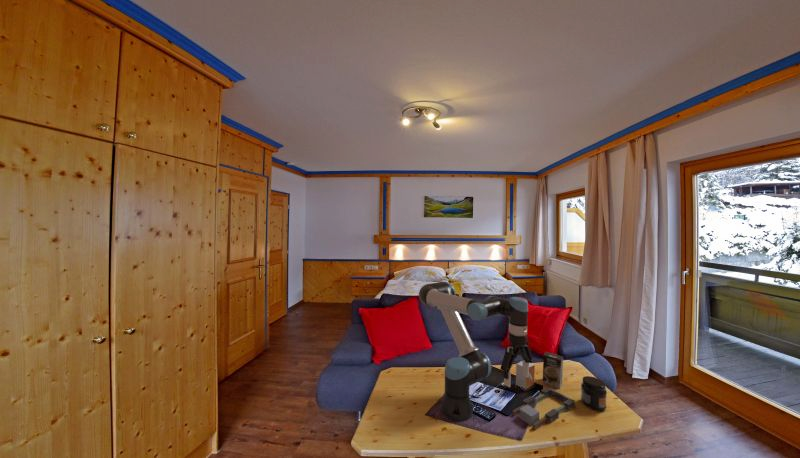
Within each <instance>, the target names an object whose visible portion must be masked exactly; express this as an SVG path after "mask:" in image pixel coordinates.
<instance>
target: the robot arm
mask: <svg viewBox="0 0 800 458" xmlns="http://www.w3.org/2000/svg"><path fill="white" fill-rule="evenodd" d="M456 293H457V292H456V289H455V286H454V285H453V284H452V283H450V282H448V281H438V282H432V283H426V284H424V285H422V286H421V288H420V289H419V291H418V298H419V301H420V302H421V303H422V304H423V305H425V306H427V307H432V308H435V307H436V308H437V310H440V311H441V313H442V317H443V318H444V321H445V322H446V325H447V327H448V329H449V332H450V334H451V335H452V338H453V340H454V343H455V344H456V347H457V350H458V352H459V355H458V357H456V356H454V357H451V358H449V359H447V360H446V362H445V366H444V393H443V395H442V399H441V401H440V402H441V403H440V411H441V413H442V414H443V416H445V417H446V418H448V419H450V420H453V421H459V422H460V421H461V422H463V421H467V420H469V419H471V417H472V416H473V413H474V410H473V409H474V408H473V404H472V401H471V396H470V387H471V386H472V385H475V384H477V383H479V382H481V381H484V380H485V379H487V378H488V377H489V376H490V374H492V362H491V360H490V358H489V356H488V355H487V354H485V353H484V352H482V351H481V350H480V348H479V347H477V346H476V345H475V344H474V342H473V340H472V338H471V336H470V334H469V331H468V330H467V327H466V325H465V323H464V321H463V319H462V317H461V315H460V314H463V315H465V316H468V317H469V318H470V319H471V320H473V321H483V320H486V319H489V318H491V317H496V316H499V315H500V316H501V317H502V316H503V317H507V318H508V342H509V343H510V346H505V349H504V350H505V352H504V354H503V358H502V362H501V365H500V370H501V371H503V385H504V386H506V387H508V388H511V383H512V382H511V381H512V380H511V379H512V376H511V375H512V371H511V369H512V367H513V365H514V363H515V359H517V358H518V356H521V358H522V361H523V363H522V375H523V376H525V377H527V378H529V363H532V362H533V361H532V360H533V355H532V352H531V349H530V342H529V341H528V313H529V305H528V304H529V303H528V300H527V299H526V298H524V297H519V296H511V297H510V298H509V299H506V298H502V297H498V296H496V295H489V296H487V297H486V298H485V300H477V299H472V298H467V297H464V296H459V295H457V294H456ZM532 364H533V363H532Z"/></svg>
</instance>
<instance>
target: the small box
mask: <svg viewBox="0 0 800 458" xmlns="http://www.w3.org/2000/svg"><path fill="white" fill-rule="evenodd" d="M523 361H524V360H521V361H519V362H517V363H515V364H516V367H515V386H516V385H518V386H520V387H523V388H525V389H527V388H529V387H530V386H532V385H534V386H535V373H536V371H535V369H536V367H535V366H536V365H535V364H534V363H529V378H527V377H525V376H523V375H522V363H523Z"/></svg>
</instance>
